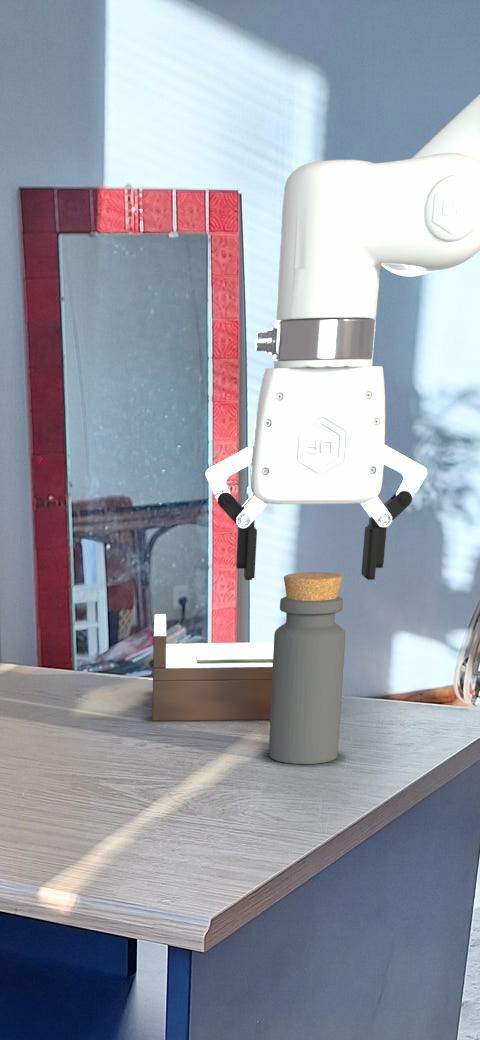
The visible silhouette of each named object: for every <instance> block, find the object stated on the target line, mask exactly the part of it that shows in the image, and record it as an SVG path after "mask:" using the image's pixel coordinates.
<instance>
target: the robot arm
mask: <svg viewBox="0 0 480 1040" xmlns="http://www.w3.org/2000/svg"><path fill="white" fill-rule="evenodd" d="M281 207H282V209H281V210H282V211H281V228H280V243H279V244H280V245H279V260H278V261H279V262H278V283H277V296H276V298H277V299H276V315H275V317H276V319H275V320H276V322H275V323H274V327H271V329H267V330H266V331H262V332H261V331H259V332H258V331H257V332H256V336H255V337H256V338H255V339H256V340H255V351H256V352H265V354H267V353H269V355H270V356H273V357H272V360H274V361H273V367H267V368H266V367H265V368H264V371H263V374H262V379H261V383H260V388H259V392H258V393H259V395H258V401H257V408H256V414H255V421H254V427H253V437H252V444H251V445H249V446H247V447H245V448H244V449H242V450H240V451H239V452H237V453H235V454H233V455H231V456H229V457H228V458H225V459H224V460H222V461H220V462H218V463H216V464H214V465H213V466H211V467H209V468H207V470H206V471H205V478H206V479H207V482H208V484H209V487H210V488H211V490H212V493H213V495H214V497H215V500H216V502H217V503H218V506H219V507H220V508H221V509H222V511H224V513H226V515H227V516H228V517H229V519H231V520H232V522H233V523H234V524H235V525H236V526H237V541H236V542H237V544H236V561H235V562H236V563H235V565H236V569H243V577H244V580H245V581H252V580H253V579H255V575H256V556H257V539H258V538H257V537H258V530H257V528H256V526H255V520H256V519H257V517H258V516H259V515H260V514H261V513H262V511H263V510H264V509H266V507H267V506H268V505H269V504H270V505H271V504H272V505H346V504H347V505H349V504H360V505H361V507H362V508H363V509H364V511H365V512H366V513H367V515H368V516H369V519H368V524H367V526H365V527H364V534H363V535H364V537H363V549H362V560H361V572H360V573H361V576H362V577H364V578H365V579H366V580H368V581H371V580H372V581H374V580H375V578H376V571H377V569H383V568H384V562H385V551H386V540H387V530H388V529H387V528H388V527H389V526H391V524H392V523H393V521H394V520H395V519H396V518H398V516H399V515H401V514H402V512H404V511H405V510H406V509H407V508H408V507H409V506H410V505H411V503H412V502H413V499H414V497H415V495H416V494H417V493H418V491H419V489H420V487H421V486H422V484H423V482H424V481H425V479H426V478H427V475H428V469H427V468H426V467H425V466H424V465H422V464H420V463H419V462H417V461H415V460H413V459H411V458H409V457H408V456H406V455H404V454H403V453H400V452H399V451H397V450H395V449H393V448H392V447H390V446H388V445H386V444H385V443H386V390H385V377H384V375H385V374H384V367H383V366H382V365H380V366H378V365H377V366H376V365H375V366H373V358H374V349H375V348H374V347H375V337H376V336H375V334H376V322H377V321H376V319H377V312H378V311H377V310H378V298H379V287H380V274H381V273H380V271H381V266H382V267H383V268H384V269H386V270H387V271H389V272H391V273H393V274H395V275H398V276H400V277H401V276H402V277H417V276H423V275H427V274H430V273H436V272H440V271H445V270H448V269H452V268H455V267H457V266H459V265H461V264H464V263H465V262H467V261H468V260H470V259H471V258H473V257H474V256H475V255H476V254H477V253H479V252H480V93H479V94H478V95H477V96H476V97H474V98H473V100H471V101H470V102H469V103H468V104H467V105H466V106H465V107H464V108H463V109H461V110H460V111H459V112H458V113H457V114H456V115H454V117H453V118H452V119H451V120H450V121H449V122H448V123H447V124H446V125H444V127H443V128H441V129H440V130H439V131H438V132H437V133H436V134H435V135H434V136H433V137H432V138H431V139H430V140H429V141H428V142H427V143H426V144H425V145H424V146H422V147H421V149H419V150H418V152H416V153H415V154H414V155H413V156H412V157H411V158H407V159H401V160H394V161H385V162H375V163H374V162H372V161H369V160H368V161H367V160H360V159H359V160H358V159H329V160H320V161H313V162H307V163H304V164H302V165H300V166H297V167H295V168H294V169H293V170H292V171H291V172H290V173H289V175H288V176H287V177H286V179H285V183H284V186H283V196H282V206H281ZM249 466H250V490H251V492H252V494H250V497H248V499H247V500H246V501H245V502H244V503H243V504H242V505H241V504H240V502H239V501H238V500H237V499H236V498H235V497H234V496H233V495H232V493H231V490H230V488H229V486H228V483H227V480H228V479H229V477H231V476H233V475H235V474H236V473H238V472H240V471H242V470H243V469H245V468H247V467H249ZM384 466H387V467H389V468H391V469H392V470H394V471H396V472H398V473H400V475H402V483H401V484H400V486H399V488H398V490H397V491H396V492H395V493H394V494H393V495H392V496H391V497H390V498H388V500H386V501H385V503H383V502H382V501H381V499H380V497H379V495H380V492H381V490H382V485H383V479H384V478H383V477H384V468H385V467H384Z"/></svg>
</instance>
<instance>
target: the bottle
mask: <svg viewBox="0 0 480 1040" xmlns="http://www.w3.org/2000/svg"><path fill="white" fill-rule="evenodd" d="M283 581H284V589H285V595H286V596H284V597H281V598H280V601H279V610H280V611H281V612H283V613H285V614H286V617H285V623H283V624H281V625H280V626H279V627H278V628H276V630H274V635H273V636H274V637H273V642H274V650H273V669H272V691H271V714H270V720H269V740H268V741H269V742H268V755H269V758H270V759H272V760H274V761H277V762H281V763H285V764H294V765H315V764H325V763H328V762H329V763H330V762H332V761H334V760H337V758H338V753H339V742H340V728H341V726H340V725H341V711H342V699H343V698H342V697H343V685H344V684H343V683H344V665H345V652H346V651H345V649H346V630H345V629H344V628H343V627H342V626H340V625H339V624H337V623H336V613H339V612H342V611H343V609H344V607H343V606H344V599H343V597H341V596H338V595H339V592H340V587H341V584H342V581H343V576H342V574H339V573H334V572H318V571H317V572H316V571H315V572H313V571H312V572H309V571H308V572H297V573H288V574H285V575H284V576H283Z"/></svg>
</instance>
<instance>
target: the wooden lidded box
mask: <svg viewBox="0 0 480 1040" xmlns="http://www.w3.org/2000/svg"><path fill="white" fill-rule="evenodd" d="M152 637H153V642H152V645H153V647H152V660H153V661H152V722H174V721H175V722H178V721H180V722H181V721H184V722H185V721H188V722H189V721H193V722H194V721H268V720H269V721H270V714H271V691H272V669H273V650H274V641H272V642H270V641H269V642H266V641H265V642H211V643H210V642H209V643H167V614H165V613H156V614H155V613H154V615H153V636H152Z"/></svg>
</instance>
